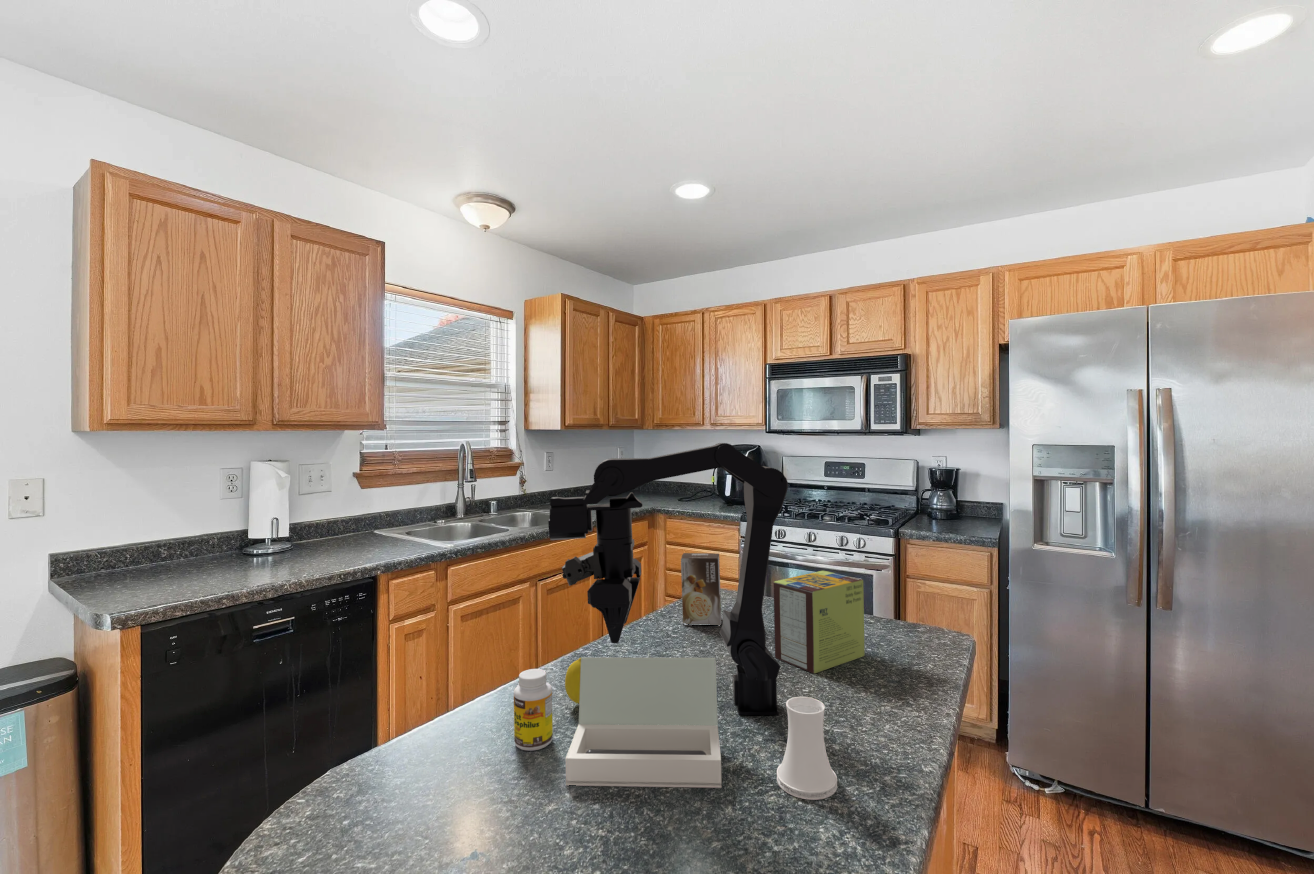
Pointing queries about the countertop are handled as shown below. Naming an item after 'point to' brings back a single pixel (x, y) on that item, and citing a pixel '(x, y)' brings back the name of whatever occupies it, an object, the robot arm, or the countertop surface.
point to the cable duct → (644, 756)
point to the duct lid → (648, 691)
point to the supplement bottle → (533, 711)
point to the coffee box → (701, 588)
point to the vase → (806, 752)
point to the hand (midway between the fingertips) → (619, 632)
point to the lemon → (573, 681)
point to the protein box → (819, 620)
